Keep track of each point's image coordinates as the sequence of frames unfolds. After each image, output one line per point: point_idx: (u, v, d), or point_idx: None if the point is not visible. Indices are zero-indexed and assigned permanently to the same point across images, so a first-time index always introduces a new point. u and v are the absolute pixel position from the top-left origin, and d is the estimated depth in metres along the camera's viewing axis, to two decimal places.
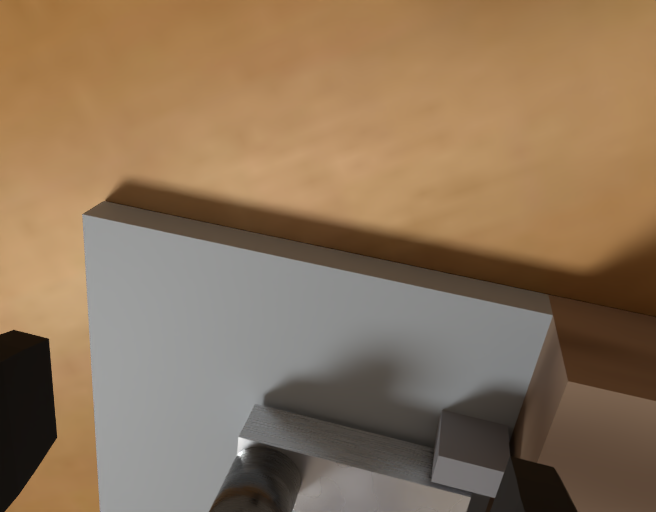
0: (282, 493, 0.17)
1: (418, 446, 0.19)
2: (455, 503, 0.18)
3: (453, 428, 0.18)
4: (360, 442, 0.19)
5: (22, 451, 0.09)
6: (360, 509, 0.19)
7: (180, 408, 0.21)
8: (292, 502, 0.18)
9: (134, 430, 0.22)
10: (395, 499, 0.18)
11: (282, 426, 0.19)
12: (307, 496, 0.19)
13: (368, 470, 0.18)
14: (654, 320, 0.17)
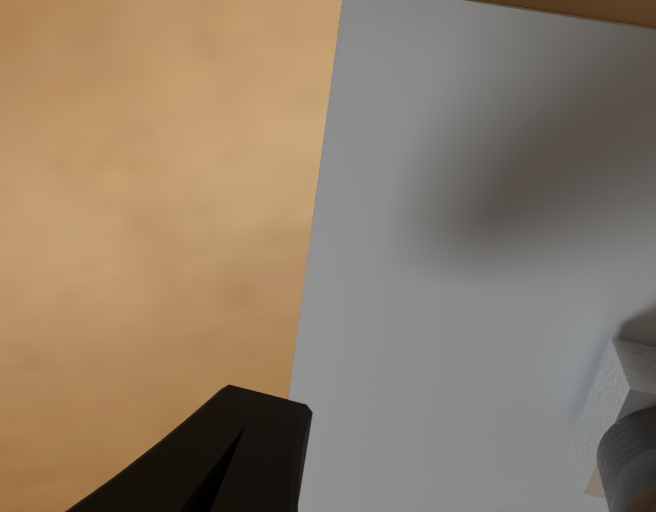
0: None
1: None
2: None
3: None
4: None
5: None
6: None
7: (452, 350, 0.13)
8: None
9: (359, 390, 0.14)
10: None
11: None
12: None
13: None
14: None
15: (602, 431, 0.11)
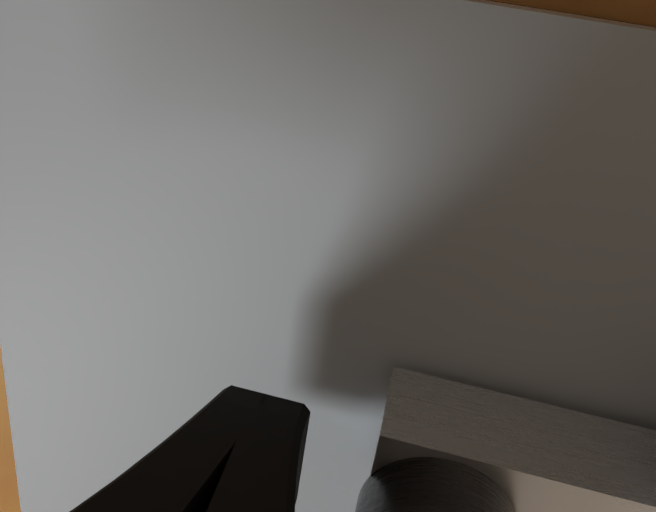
0: None
1: None
2: None
3: None
4: (639, 449, 0.09)
5: None
6: None
7: (163, 360, 0.11)
8: None
9: (78, 405, 0.12)
10: None
11: (465, 413, 0.09)
12: None
13: None
14: None
15: None
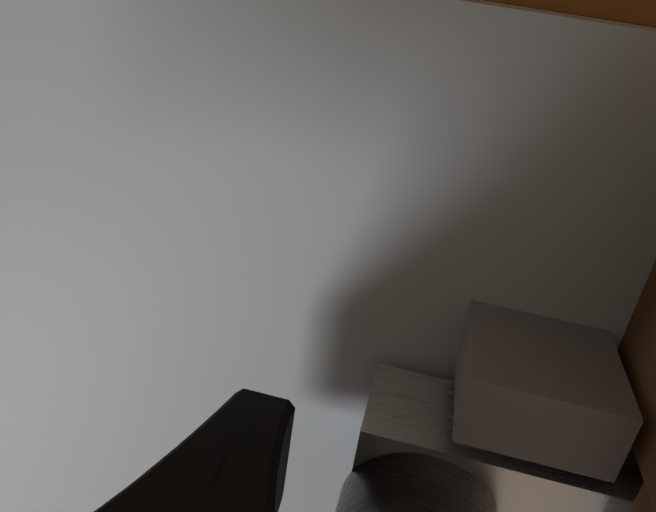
0: None
1: None
2: None
3: (499, 331, 0.08)
4: None
5: None
6: None
7: None
8: None
9: None
10: None
11: (446, 409, 0.09)
12: None
13: None
14: None
15: None
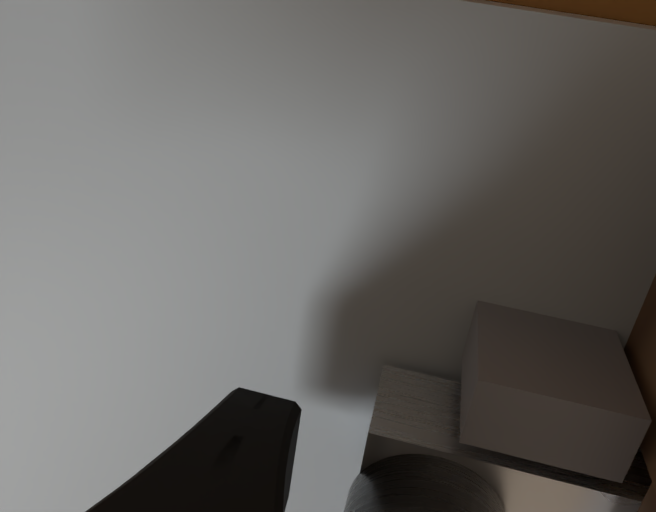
0: None
1: None
2: None
3: (505, 332, 0.08)
4: None
5: None
6: None
7: None
8: None
9: None
10: None
11: (454, 410, 0.09)
12: None
13: None
14: None
15: None
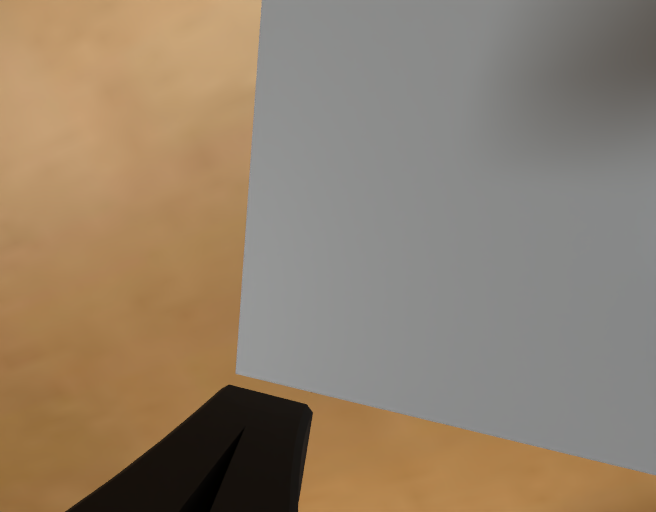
0: None
1: None
2: None
3: None
4: None
5: None
6: None
7: (384, 187, 0.14)
8: None
9: (306, 234, 0.15)
10: None
11: None
12: None
13: None
14: None
15: None
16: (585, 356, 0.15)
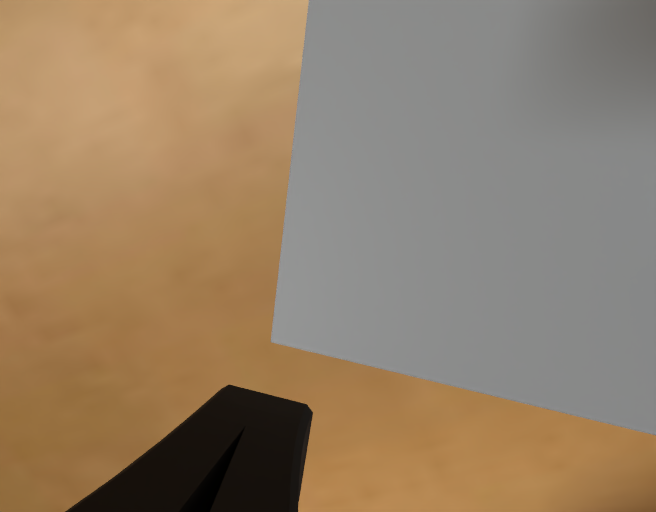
0: None
1: None
2: None
3: None
4: None
5: None
6: None
7: (419, 162, 0.15)
8: None
9: (344, 206, 0.16)
10: None
11: None
12: None
13: None
14: None
15: None
16: (605, 323, 0.16)
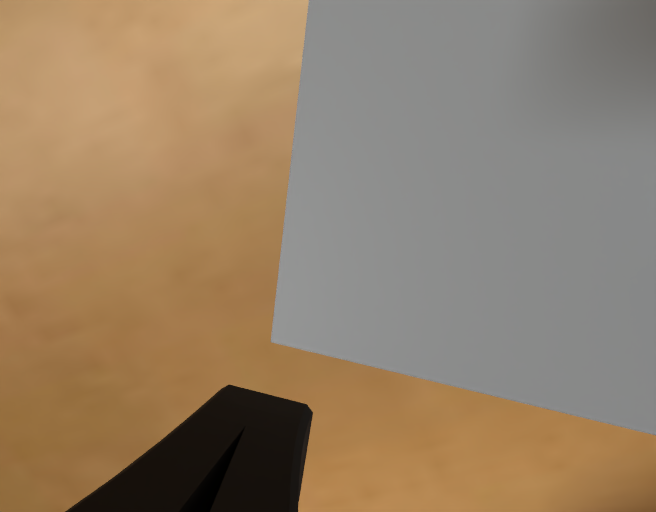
0: None
1: None
2: None
3: None
4: None
5: None
6: None
7: (419, 162, 0.15)
8: None
9: (344, 206, 0.16)
10: None
11: None
12: None
13: None
14: None
15: None
16: (605, 323, 0.16)
